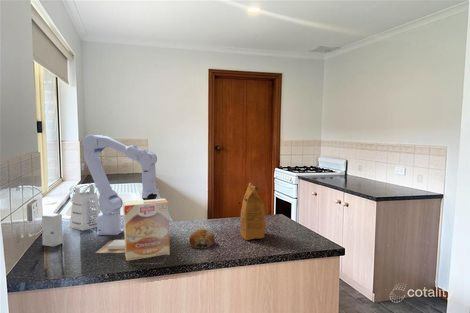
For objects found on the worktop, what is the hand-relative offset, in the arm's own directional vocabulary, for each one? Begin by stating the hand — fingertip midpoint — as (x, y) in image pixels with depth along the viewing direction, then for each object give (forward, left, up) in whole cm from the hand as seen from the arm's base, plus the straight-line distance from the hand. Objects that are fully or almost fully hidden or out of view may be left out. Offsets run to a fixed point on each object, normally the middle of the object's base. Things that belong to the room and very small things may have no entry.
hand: (150, 211), depth 141 cm
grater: (-35, +13, -10) cm, 39 cm away
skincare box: (-36, -13, -10) cm, 39 cm away
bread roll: (+24, -14, -10) cm, 30 cm away
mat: (-7, -17, -10) cm, 21 cm away
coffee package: (+44, -5, -10) cm, 46 cm away
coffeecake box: (+6, -25, -10) cm, 28 cm away
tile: (-7, -14, -9) cm, 18 cm away
